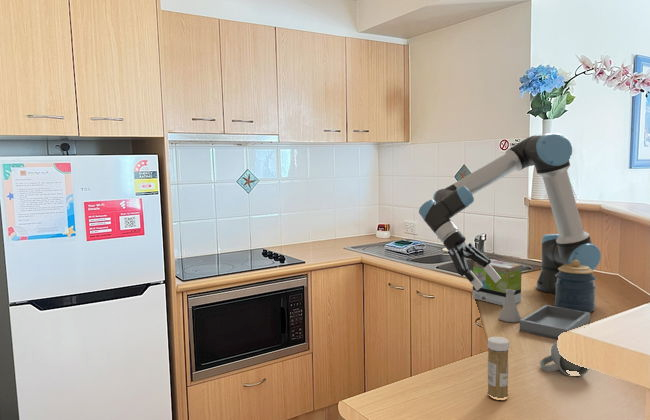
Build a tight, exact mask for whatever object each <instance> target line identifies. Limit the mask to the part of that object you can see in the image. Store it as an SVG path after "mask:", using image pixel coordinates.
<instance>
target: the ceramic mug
mask: <svg viewBox="0 0 650 420" xmlns="http://www.w3.org/2000/svg"><path fill="white" fill-rule="evenodd" d="M552 362H554V363H552ZM549 363H552V364H549ZM547 364H549V365H547ZM539 365H540V367H541V369H542V371H544V370H545V371H544V372H554V371H557V370H559V371H561V372H562V374H564V375H565V376H567V375H570V374H568V373H567V372H566V370H569V371H577V372H579V374H580V375H582V376H584V375H586V374H587V373H588V372H589V370H590V368H589V369H587V368H584V367H580V366H578V365H575V364H573V363H571V362H569V361H567V360H566V359H564V358H563V357H562V356H561V355H560V354H559V351H558V348H557V341H555V342H554V343H553V344H552V346H551V350H550V355H547V356H546V357H544V358H542V359H541V360H540V362H539Z"/></svg>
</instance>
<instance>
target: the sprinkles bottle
mask: <svg viewBox="0 0 650 420" xmlns="http://www.w3.org/2000/svg"><path fill="white" fill-rule="evenodd" d="M509 350H510V341H509V339H507V338H505V337H502V336H491V337H488V339H487V352H488V353H487V355H488V356H487V358H488V359H487V393H488V394H489V395H491V396H493V397H497V398H504V397H507V396H508V397H509V393H508V391H509V390H508V389H509Z"/></svg>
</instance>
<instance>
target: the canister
mask: <svg viewBox="0 0 650 420" xmlns="http://www.w3.org/2000/svg"><path fill="white" fill-rule="evenodd" d="M558 270H559V272H558V273H556V274H555V276H556V277H557V282H556V283H555V285H556V290H555V293H554V294H555V296H554V297H555V299H554V304H555V305H554V306H556V307H561V308H567V309H573V310H578V311H584V312H589V313H590V314H591V313H592V312H594V311H595V308H596V287H597V286H596V285H595V280H596V279H597V276H596V275H594V274H593V273H594V270H592V269H590V268H589V267H588V266H585V265H580V262H579V261H578V260H573V261H572V264H565V265H562V266H561V267H559V268H558Z"/></svg>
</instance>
